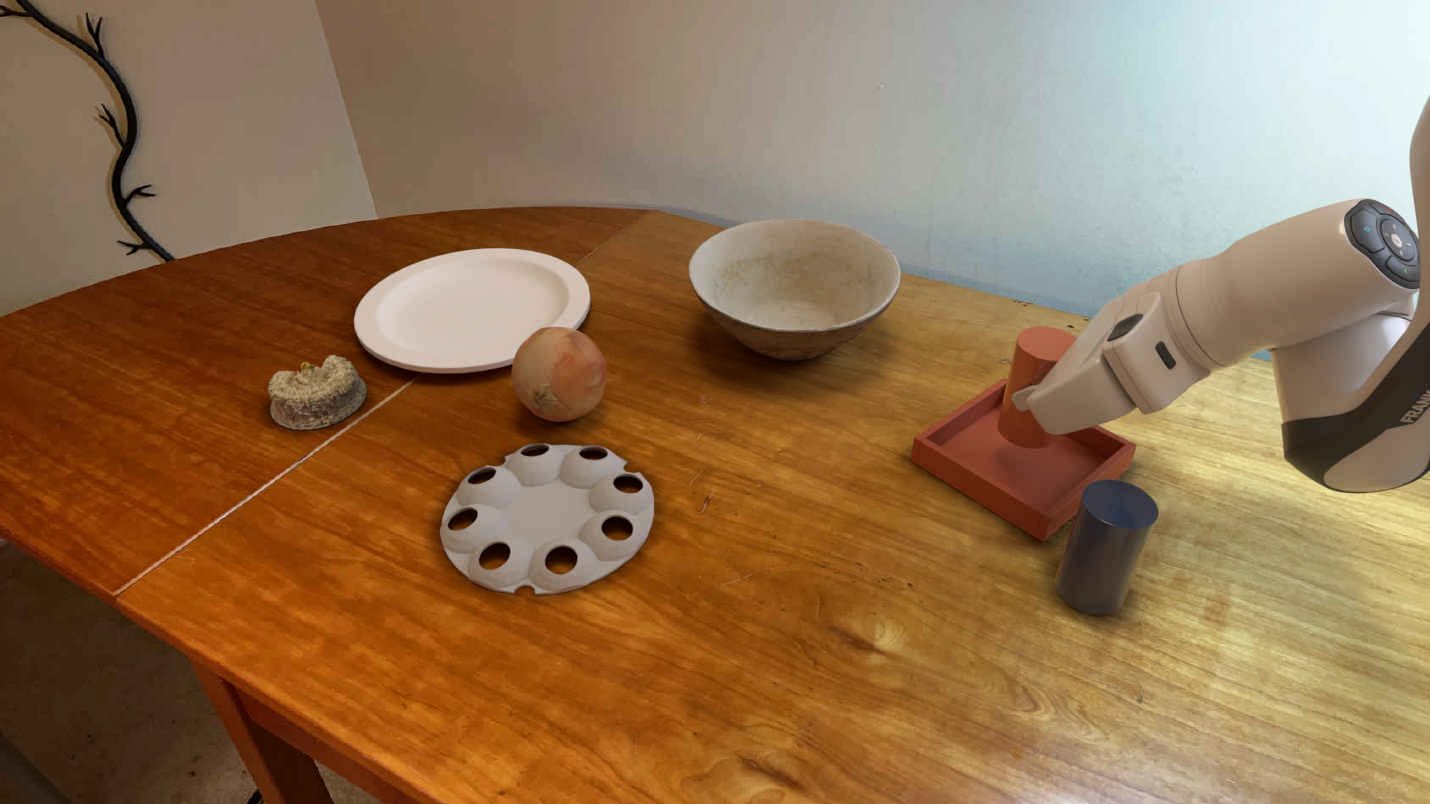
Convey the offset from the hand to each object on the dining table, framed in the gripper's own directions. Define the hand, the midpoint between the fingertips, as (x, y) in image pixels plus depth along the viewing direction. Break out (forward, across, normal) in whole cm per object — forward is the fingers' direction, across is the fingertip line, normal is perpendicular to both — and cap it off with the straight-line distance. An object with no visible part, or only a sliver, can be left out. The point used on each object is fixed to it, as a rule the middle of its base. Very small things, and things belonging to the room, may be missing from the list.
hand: (1032, 382), depth 84 cm
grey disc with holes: (+29, +33, -15) cm, 46 cm away
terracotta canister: (+3, 0, +4) cm, 5 cm away
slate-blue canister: (-2, +12, +15) cm, 19 cm away
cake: (+52, +36, -38) cm, 74 cm away
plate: (+52, +14, -38) cm, 66 cm away
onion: (+36, +21, -22) cm, 47 cm away
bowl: (+28, -5, -14) cm, 32 cm away
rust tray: (+6, 0, +7) cm, 10 cm away
